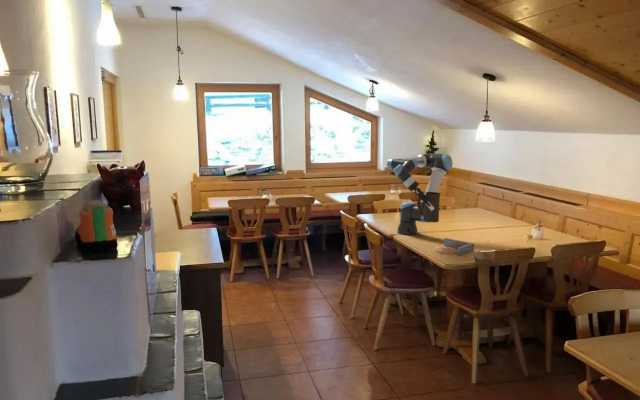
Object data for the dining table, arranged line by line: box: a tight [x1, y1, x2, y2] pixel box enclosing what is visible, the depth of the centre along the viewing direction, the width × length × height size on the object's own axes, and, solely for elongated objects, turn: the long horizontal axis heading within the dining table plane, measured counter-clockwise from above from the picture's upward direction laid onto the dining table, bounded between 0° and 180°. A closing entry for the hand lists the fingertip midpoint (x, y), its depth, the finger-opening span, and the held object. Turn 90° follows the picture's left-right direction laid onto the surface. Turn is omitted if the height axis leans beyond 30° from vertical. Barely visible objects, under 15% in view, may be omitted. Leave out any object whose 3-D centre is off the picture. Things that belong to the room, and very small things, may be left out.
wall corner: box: [443, 237, 475, 257], centre depth 335 cm, size 18×21×5 cm
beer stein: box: [416, 192, 441, 223], centre depth 346 cm, size 15×11×20 cm
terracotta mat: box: [433, 246, 458, 255], centre depth 334 cm, size 16×16×1 cm
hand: (433, 208), depth 346 cm, fingers closed on beer stein, 9 cm apart
